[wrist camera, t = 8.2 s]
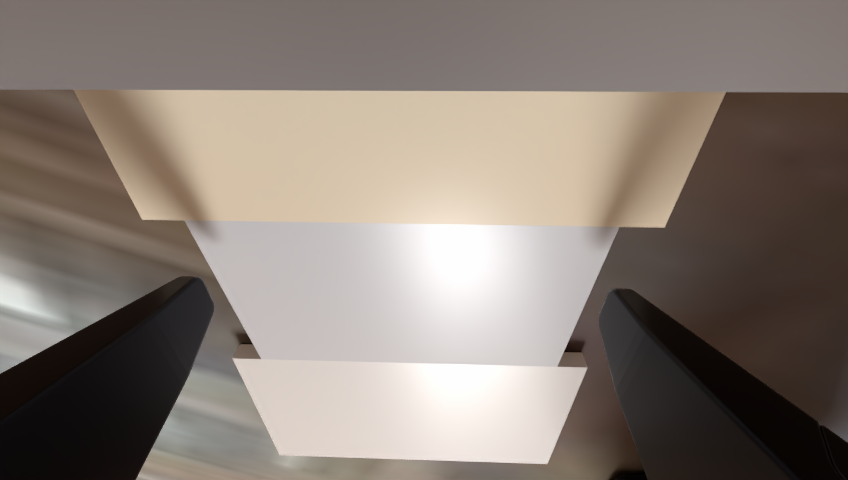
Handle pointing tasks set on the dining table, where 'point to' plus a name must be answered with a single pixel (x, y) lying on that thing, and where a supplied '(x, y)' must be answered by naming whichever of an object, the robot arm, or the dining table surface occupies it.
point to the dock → (406, 246)
